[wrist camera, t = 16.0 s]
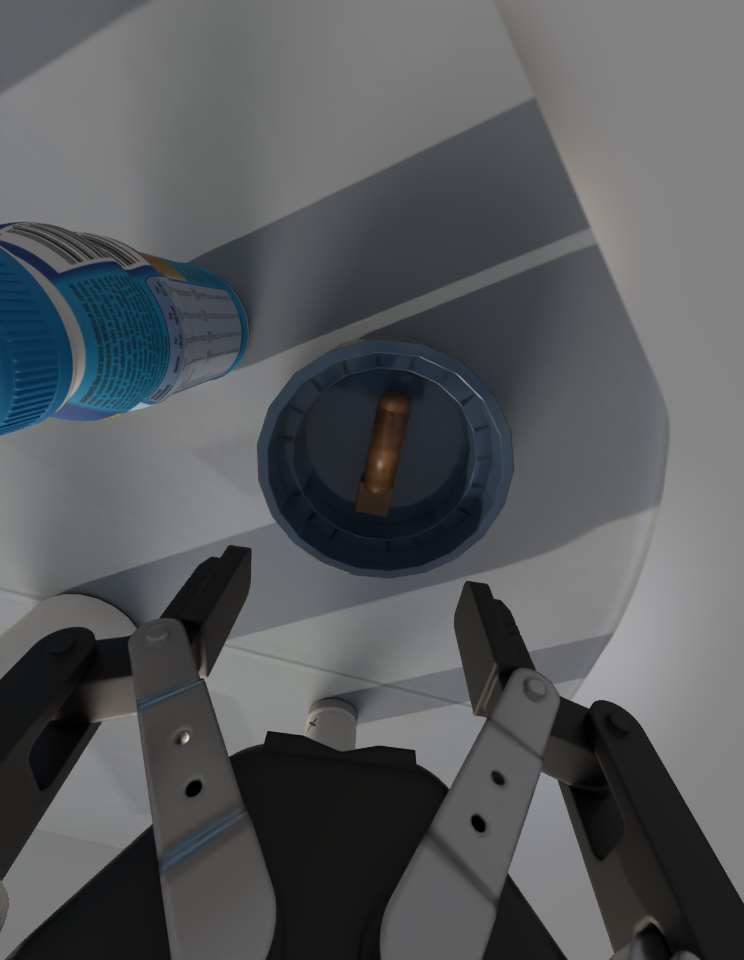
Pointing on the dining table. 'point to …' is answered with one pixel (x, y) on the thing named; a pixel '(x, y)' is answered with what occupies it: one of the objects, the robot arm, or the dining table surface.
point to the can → (61, 624)
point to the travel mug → (332, 724)
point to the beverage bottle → (105, 326)
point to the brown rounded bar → (383, 455)
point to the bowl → (421, 467)
